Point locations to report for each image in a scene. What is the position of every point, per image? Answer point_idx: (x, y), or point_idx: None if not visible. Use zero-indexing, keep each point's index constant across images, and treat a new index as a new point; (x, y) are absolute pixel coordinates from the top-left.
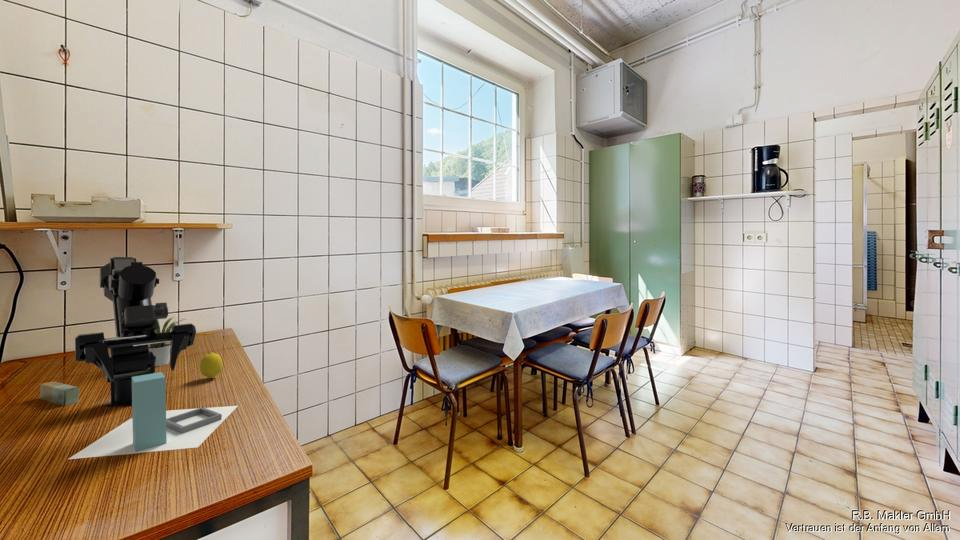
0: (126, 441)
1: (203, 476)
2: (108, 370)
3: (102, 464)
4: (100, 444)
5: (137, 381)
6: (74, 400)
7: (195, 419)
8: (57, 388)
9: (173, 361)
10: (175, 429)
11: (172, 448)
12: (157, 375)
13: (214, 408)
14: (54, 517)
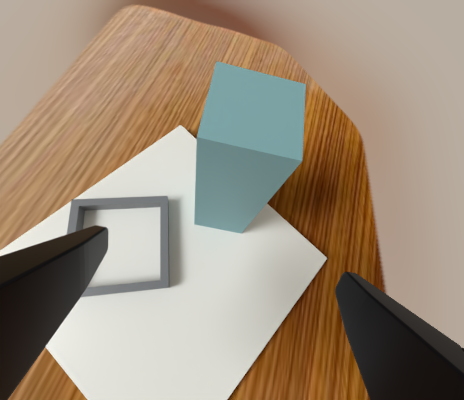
0: (246, 256)
1: (207, 71)
2: (394, 304)
3: (284, 213)
4: (282, 285)
5: (296, 88)
6: None
7: (108, 258)
8: None
9: (70, 240)
10: (168, 225)
11: None
12: (227, 100)
13: None
14: (332, 121)
